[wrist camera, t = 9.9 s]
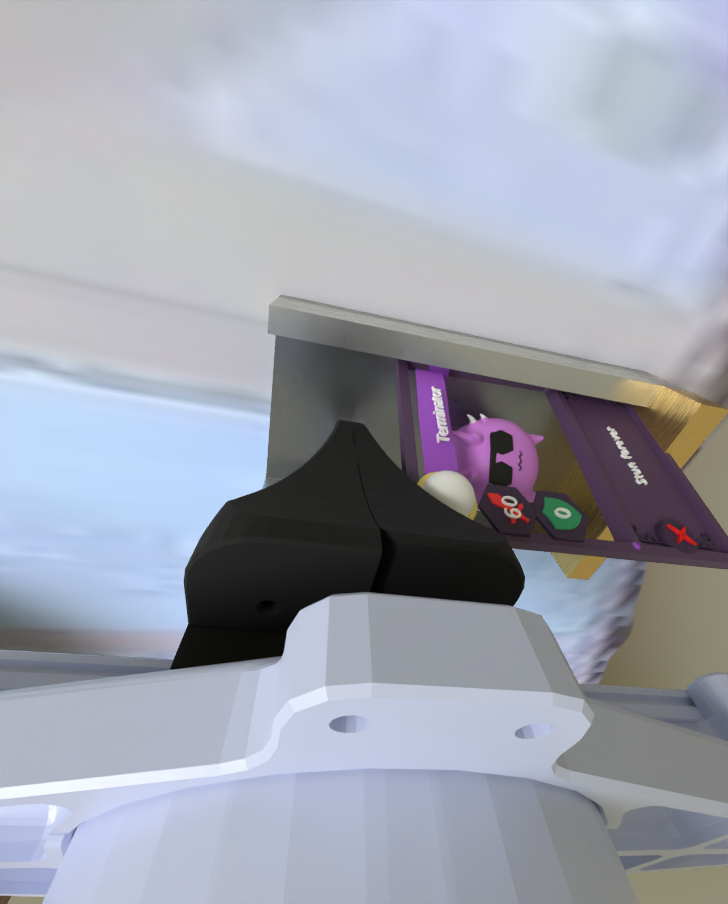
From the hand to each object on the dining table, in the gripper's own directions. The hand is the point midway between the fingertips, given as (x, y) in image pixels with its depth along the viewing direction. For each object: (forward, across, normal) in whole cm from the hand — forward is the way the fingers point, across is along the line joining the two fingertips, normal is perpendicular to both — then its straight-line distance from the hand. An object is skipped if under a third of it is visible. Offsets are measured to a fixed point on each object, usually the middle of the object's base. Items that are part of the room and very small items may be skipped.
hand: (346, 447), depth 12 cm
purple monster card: (+2, -6, -1) cm, 6 cm away
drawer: (+2, -4, 0) cm, 5 cm away
